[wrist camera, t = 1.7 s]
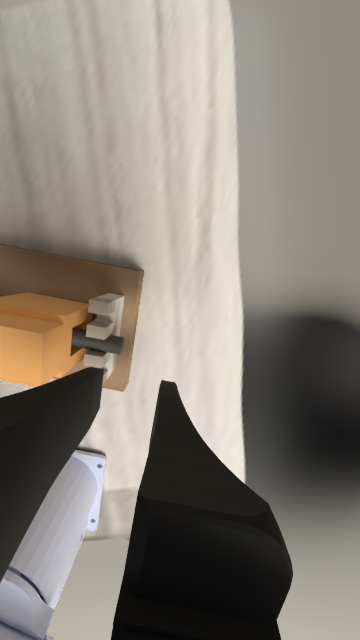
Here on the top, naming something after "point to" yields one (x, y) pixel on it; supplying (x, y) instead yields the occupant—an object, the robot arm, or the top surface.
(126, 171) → the top surface
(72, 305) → the orange notched block
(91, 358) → the cord board
